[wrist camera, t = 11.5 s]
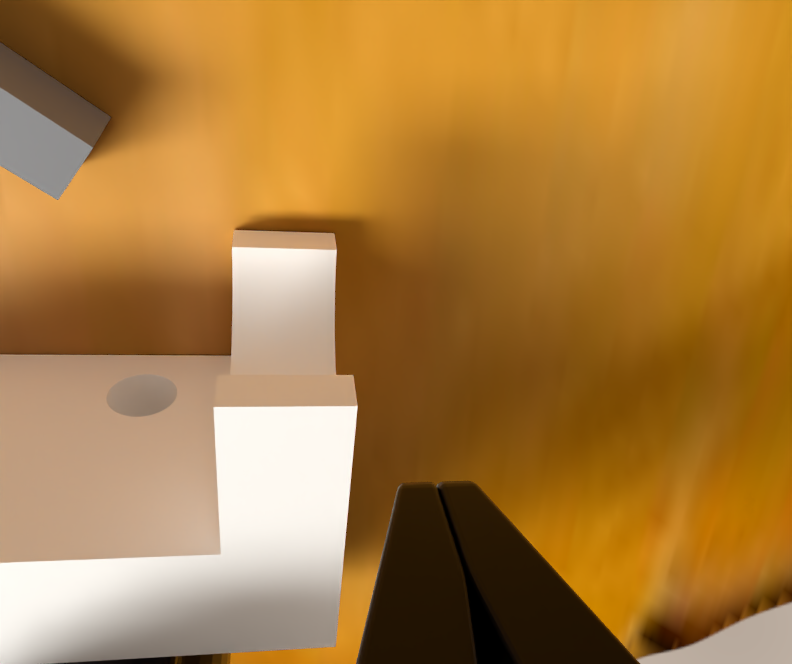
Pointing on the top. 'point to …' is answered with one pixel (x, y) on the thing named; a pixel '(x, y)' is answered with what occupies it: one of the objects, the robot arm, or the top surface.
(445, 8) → the top surface
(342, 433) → the bracket
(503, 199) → the top surface
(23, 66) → the guide dock
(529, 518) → the top surface
